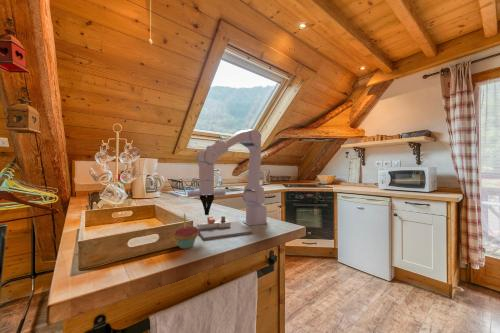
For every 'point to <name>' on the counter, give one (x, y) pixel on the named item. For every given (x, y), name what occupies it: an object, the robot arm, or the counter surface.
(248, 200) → the robot arm
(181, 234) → the cupcake
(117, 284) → the counter surface
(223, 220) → the pintle
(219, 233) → the board
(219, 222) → the link
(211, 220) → the keeper
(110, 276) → the counter surface
